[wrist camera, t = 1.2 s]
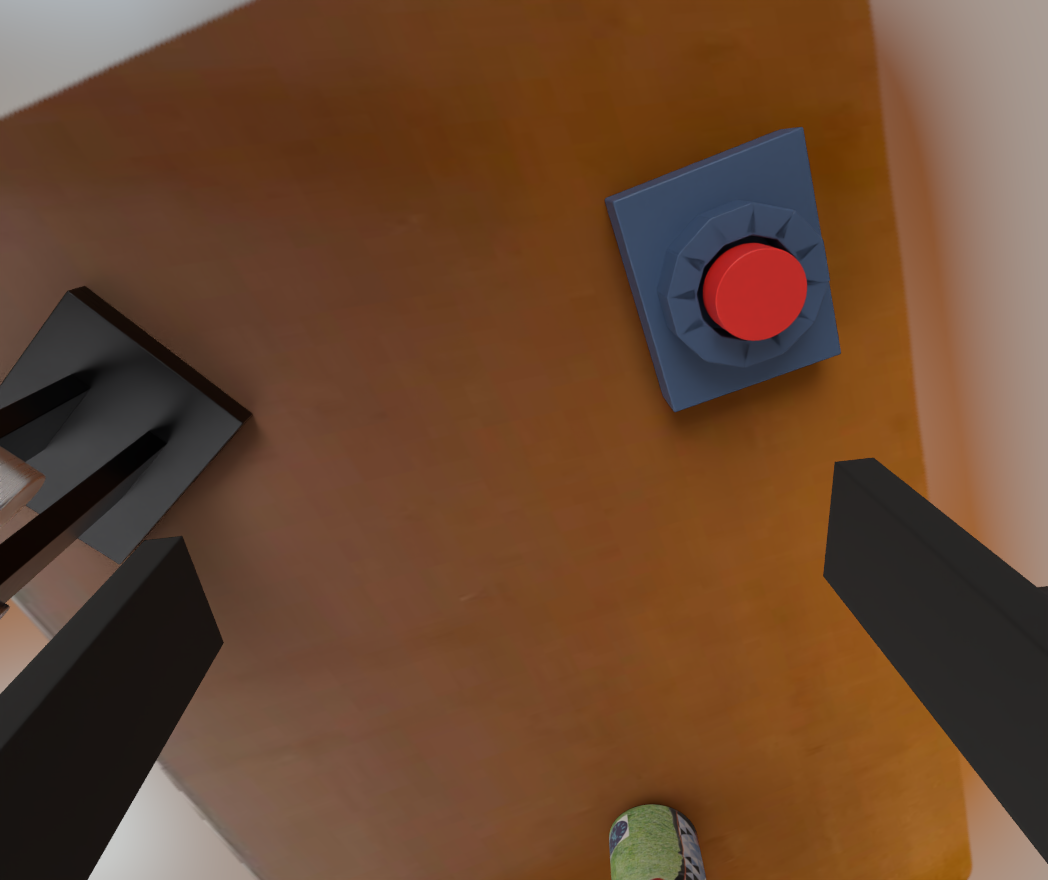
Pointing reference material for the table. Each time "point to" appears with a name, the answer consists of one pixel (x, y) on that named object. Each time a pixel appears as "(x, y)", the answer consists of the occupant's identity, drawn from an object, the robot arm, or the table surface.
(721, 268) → the button
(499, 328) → the table surface
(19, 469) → the lever
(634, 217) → the button box
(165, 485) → the bracket
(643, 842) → the beverage can
